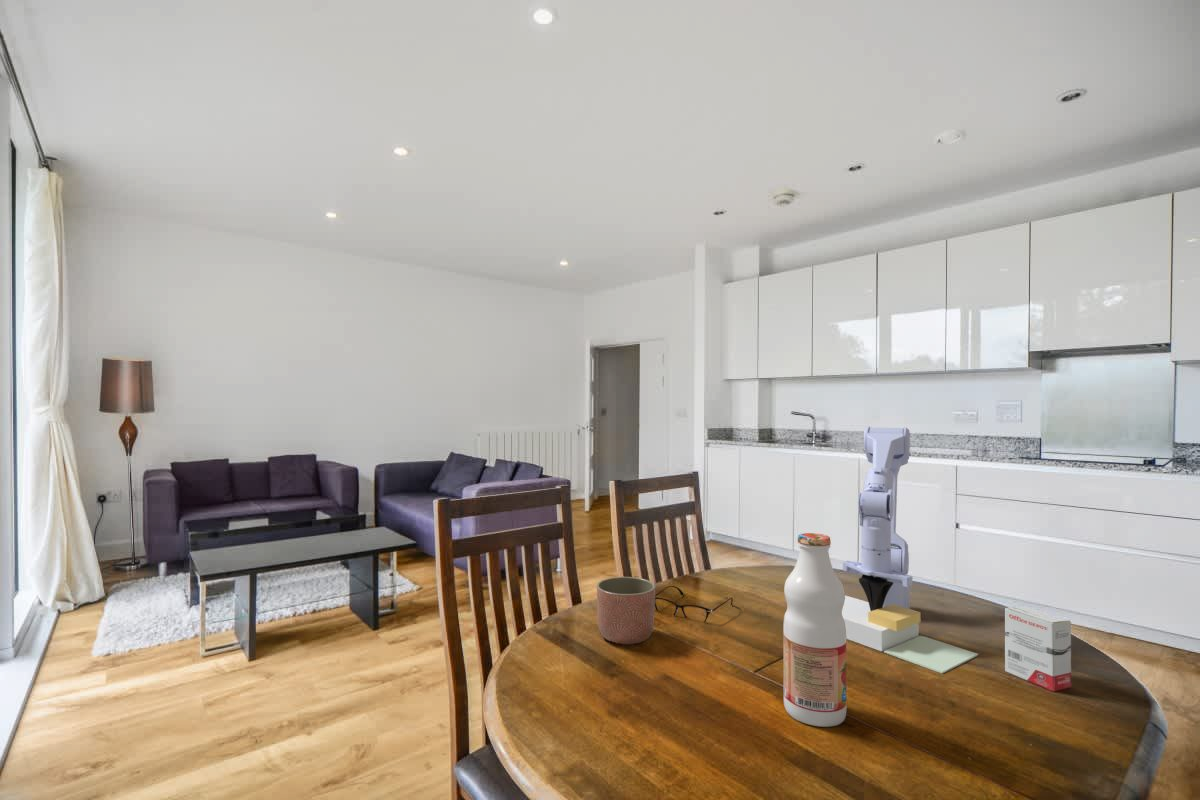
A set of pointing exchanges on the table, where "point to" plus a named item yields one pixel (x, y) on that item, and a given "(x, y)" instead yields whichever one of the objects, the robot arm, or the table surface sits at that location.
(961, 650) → the mat
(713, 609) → the eyeglasses
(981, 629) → the table surface
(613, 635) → the planter
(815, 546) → the fruit juice
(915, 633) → the white box
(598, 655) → the table surface
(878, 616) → the yellow rectangular block
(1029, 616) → the ink box
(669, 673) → the table surface
